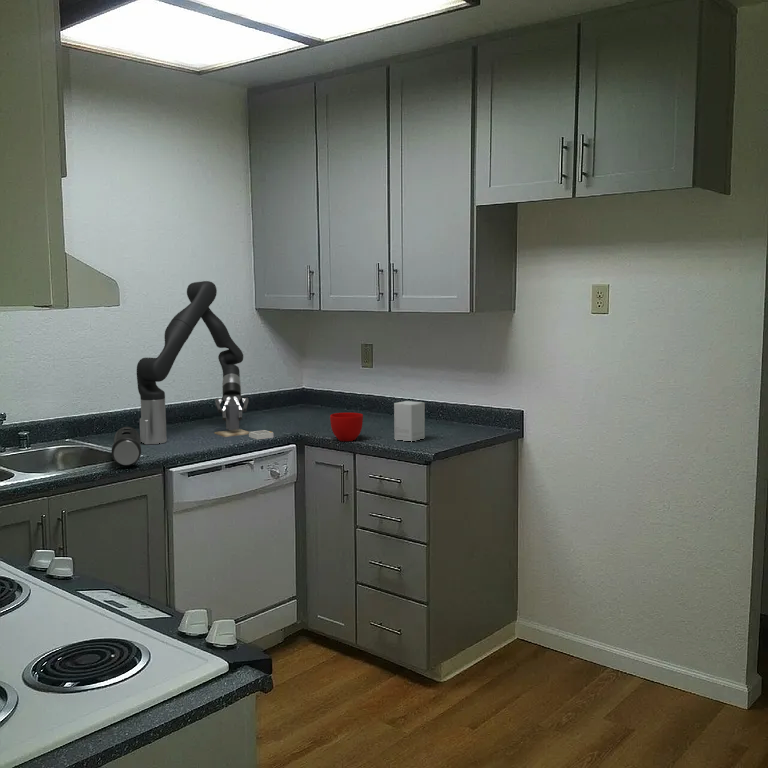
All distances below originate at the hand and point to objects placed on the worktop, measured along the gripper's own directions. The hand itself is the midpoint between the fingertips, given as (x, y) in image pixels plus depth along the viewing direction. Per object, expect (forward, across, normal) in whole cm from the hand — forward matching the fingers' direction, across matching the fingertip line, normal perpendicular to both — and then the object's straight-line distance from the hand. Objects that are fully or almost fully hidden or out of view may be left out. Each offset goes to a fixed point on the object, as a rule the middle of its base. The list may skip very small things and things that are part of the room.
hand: (232, 419), depth 334 cm
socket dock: (+11, +11, -2) cm, 16 cm away
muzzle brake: (+35, -37, -26) cm, 57 cm away
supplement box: (+22, +69, -13) cm, 73 cm away
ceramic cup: (+17, +46, -8) cm, 49 cm away
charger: (+2, 0, +4) cm, 5 cm away
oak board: (+3, 0, +6) cm, 7 cm away
